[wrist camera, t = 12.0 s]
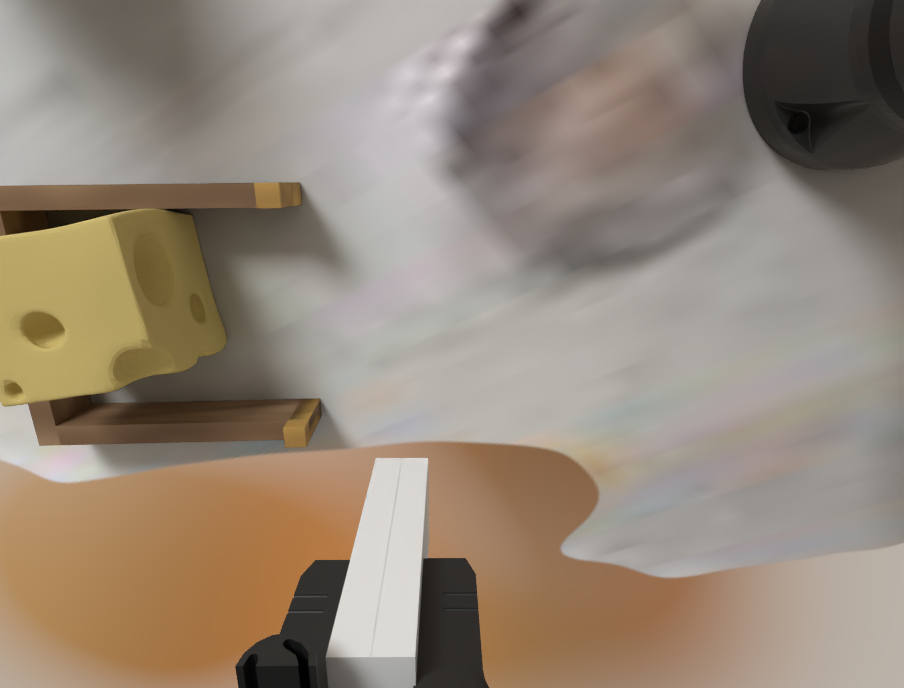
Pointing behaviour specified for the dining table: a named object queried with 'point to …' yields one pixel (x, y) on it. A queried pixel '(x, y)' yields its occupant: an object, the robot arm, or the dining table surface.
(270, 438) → the bay
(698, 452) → the dining table surface
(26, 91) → the dining table surface
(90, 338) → the cheese
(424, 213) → the dining table surface
